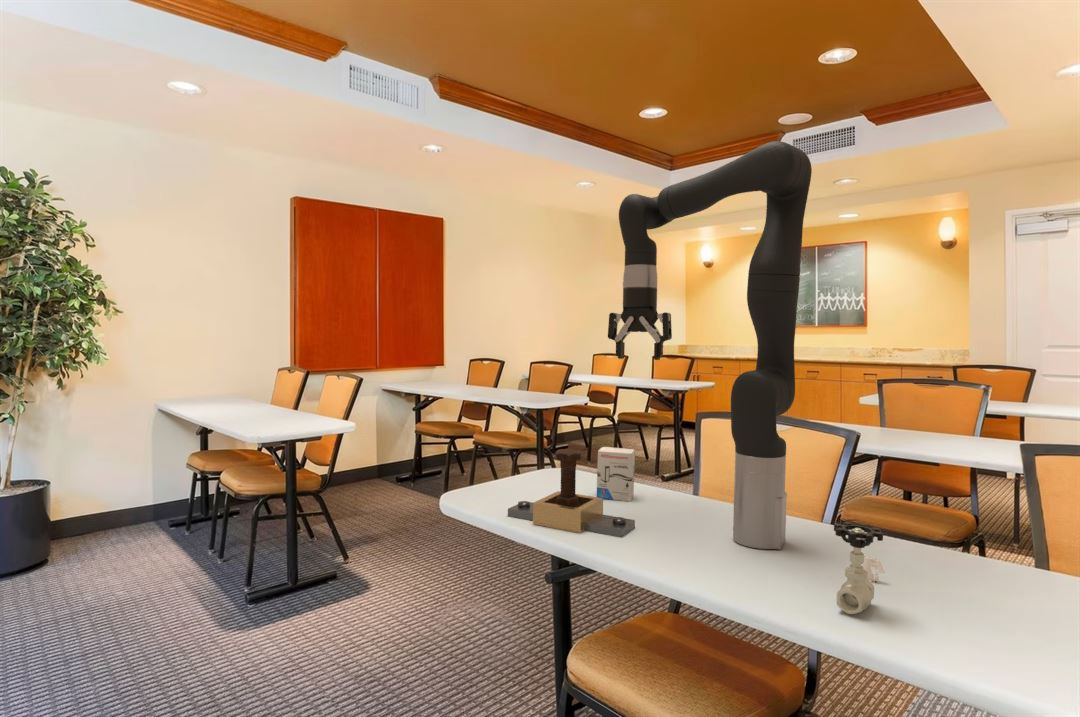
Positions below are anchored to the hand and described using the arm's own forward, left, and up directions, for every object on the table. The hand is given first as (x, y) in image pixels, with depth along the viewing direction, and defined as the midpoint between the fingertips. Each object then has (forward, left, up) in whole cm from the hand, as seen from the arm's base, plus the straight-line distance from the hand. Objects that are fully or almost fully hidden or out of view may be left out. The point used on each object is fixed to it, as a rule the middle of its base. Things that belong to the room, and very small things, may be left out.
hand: (638, 359), depth 140 cm
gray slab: (+18, +16, -34) cm, 42 cm away
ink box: (+8, -7, -34) cm, 36 cm away
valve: (-46, +31, -34) cm, 65 cm away
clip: (-47, +18, -34) cm, 61 cm away
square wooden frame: (+9, +16, -34) cm, 39 cm away
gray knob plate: (0, +16, -34) cm, 38 cm away
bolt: (+9, +16, -34) cm, 39 cm away
